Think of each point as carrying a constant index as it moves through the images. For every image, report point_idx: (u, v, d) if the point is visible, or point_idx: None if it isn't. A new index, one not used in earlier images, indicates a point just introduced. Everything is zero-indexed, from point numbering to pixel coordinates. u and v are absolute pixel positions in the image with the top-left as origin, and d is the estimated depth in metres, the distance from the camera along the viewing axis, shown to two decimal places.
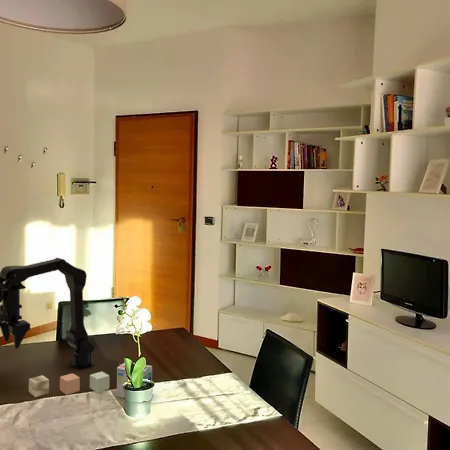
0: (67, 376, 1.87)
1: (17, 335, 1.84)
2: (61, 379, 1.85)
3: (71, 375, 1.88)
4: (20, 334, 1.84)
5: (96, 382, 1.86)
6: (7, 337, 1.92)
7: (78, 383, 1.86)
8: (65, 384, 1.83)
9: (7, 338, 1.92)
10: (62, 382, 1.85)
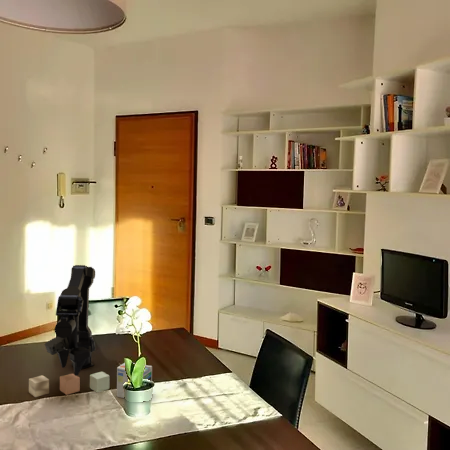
0: (67, 376, 1.87)
1: (77, 362, 1.81)
2: (61, 379, 1.85)
3: (71, 375, 1.88)
4: (80, 361, 1.82)
5: (96, 382, 1.86)
6: (65, 363, 1.89)
7: (78, 383, 1.86)
8: (65, 384, 1.83)
9: (64, 364, 1.89)
10: (62, 382, 1.85)
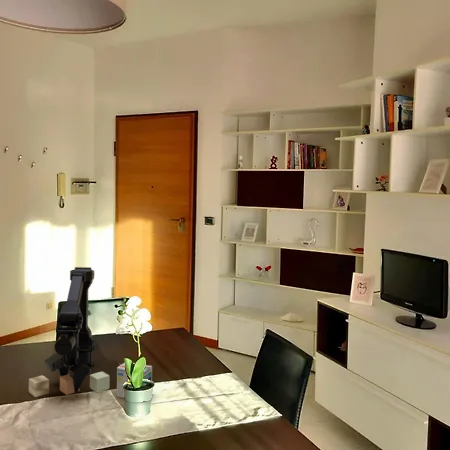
0: (67, 376, 1.87)
1: (77, 379, 1.82)
2: (61, 379, 1.85)
3: None
4: (80, 378, 1.82)
5: (96, 382, 1.86)
6: None
7: None
8: (65, 384, 1.83)
9: None
10: (62, 382, 1.85)
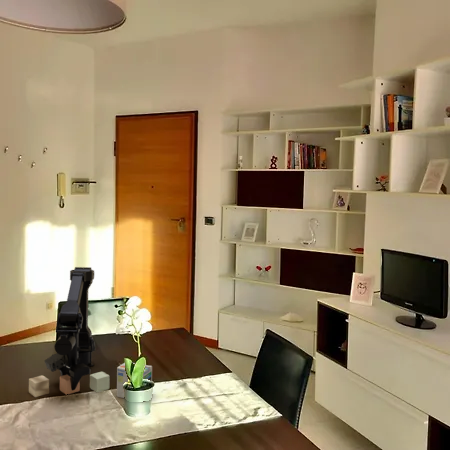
0: (67, 375, 1.87)
1: (74, 377, 1.83)
2: (61, 379, 1.85)
3: None
4: (77, 376, 1.84)
5: (96, 382, 1.86)
6: None
7: (78, 383, 1.86)
8: (65, 384, 1.83)
9: None
10: (62, 382, 1.85)
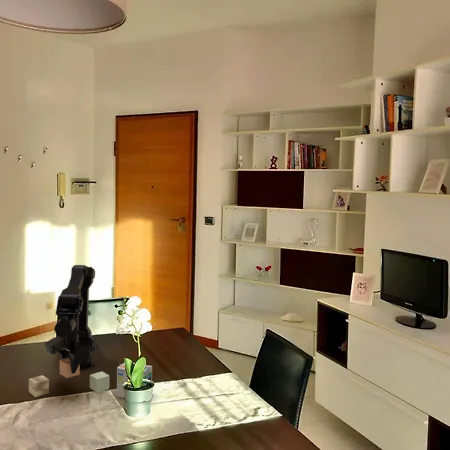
0: (67, 359, 1.86)
1: (74, 360, 1.82)
2: (61, 362, 1.85)
3: None
4: (77, 359, 1.83)
5: (96, 382, 1.86)
6: None
7: (78, 366, 1.85)
8: (65, 367, 1.83)
9: None
10: (62, 365, 1.84)
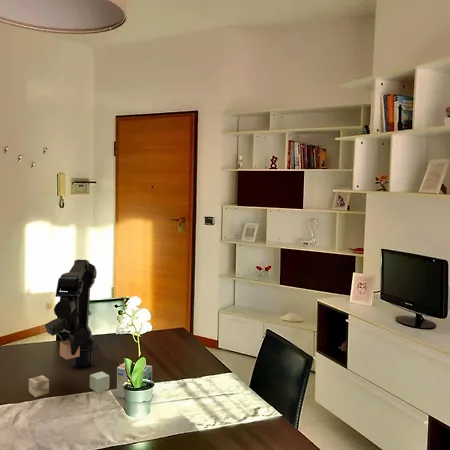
0: (67, 341, 1.88)
1: (74, 342, 1.84)
2: (61, 344, 1.86)
3: None
4: (77, 341, 1.85)
5: (96, 382, 1.86)
6: None
7: (78, 348, 1.87)
8: (65, 348, 1.84)
9: None
10: (62, 347, 1.86)
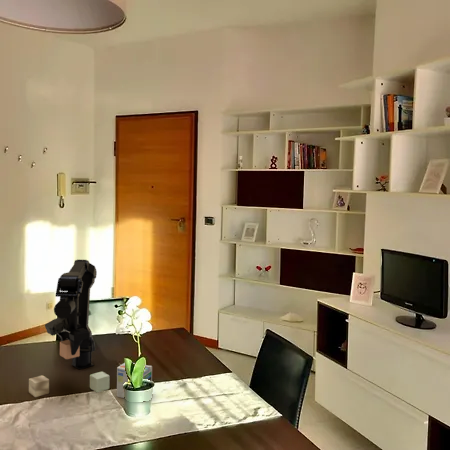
0: (67, 341, 1.88)
1: (74, 342, 1.84)
2: (61, 344, 1.86)
3: None
4: (77, 341, 1.85)
5: (96, 382, 1.86)
6: None
7: (78, 348, 1.87)
8: (65, 348, 1.84)
9: None
10: (62, 347, 1.86)
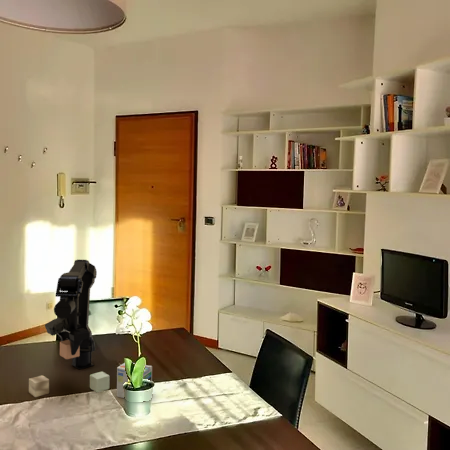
0: (67, 341, 1.88)
1: (74, 342, 1.84)
2: (61, 344, 1.86)
3: None
4: (77, 341, 1.85)
5: (96, 382, 1.86)
6: None
7: (78, 348, 1.87)
8: (65, 348, 1.84)
9: None
10: (62, 347, 1.86)
